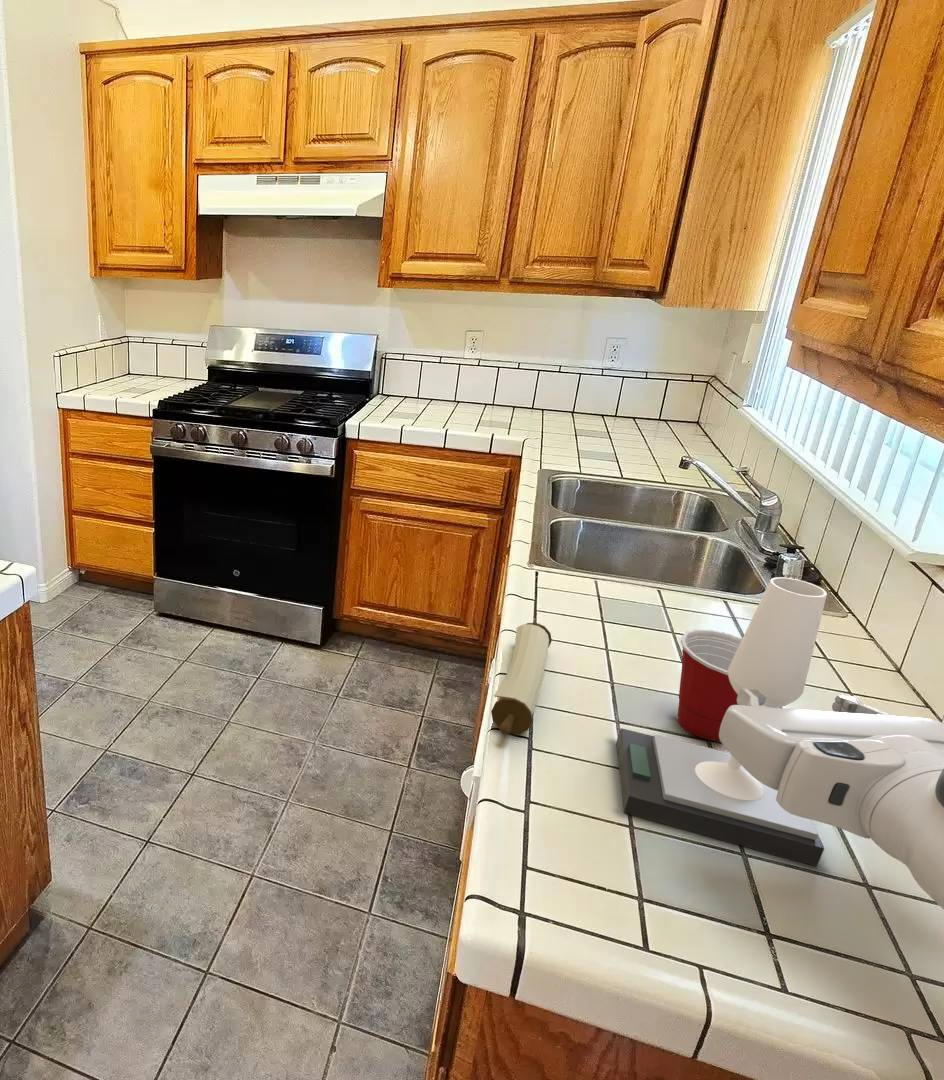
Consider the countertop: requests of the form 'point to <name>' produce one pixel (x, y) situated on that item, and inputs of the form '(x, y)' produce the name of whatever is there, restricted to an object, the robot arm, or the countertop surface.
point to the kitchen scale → (706, 799)
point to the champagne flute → (770, 667)
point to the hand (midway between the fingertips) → (793, 698)
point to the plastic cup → (706, 681)
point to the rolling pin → (522, 680)
